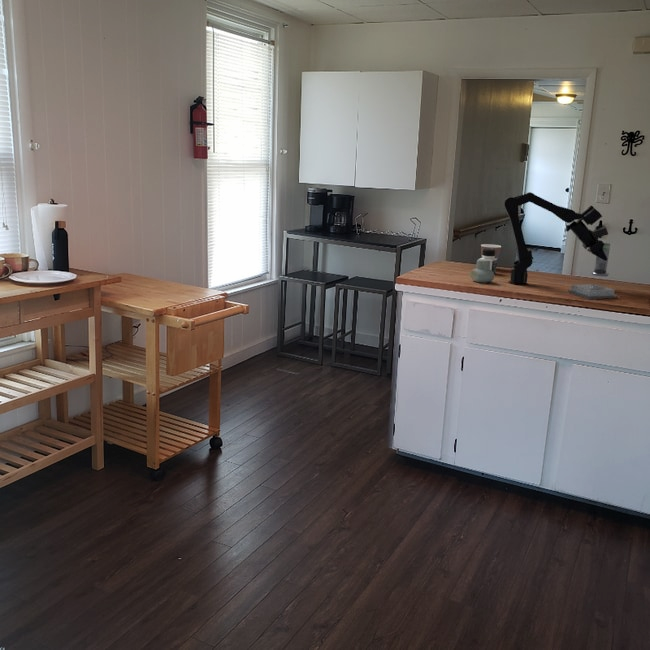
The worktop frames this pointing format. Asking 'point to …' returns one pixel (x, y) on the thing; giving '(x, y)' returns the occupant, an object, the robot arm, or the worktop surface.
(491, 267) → the medicine bottle
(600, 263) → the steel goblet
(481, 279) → the air freshener
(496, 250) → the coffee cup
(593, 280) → the worktop surface
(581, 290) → the metal stand
